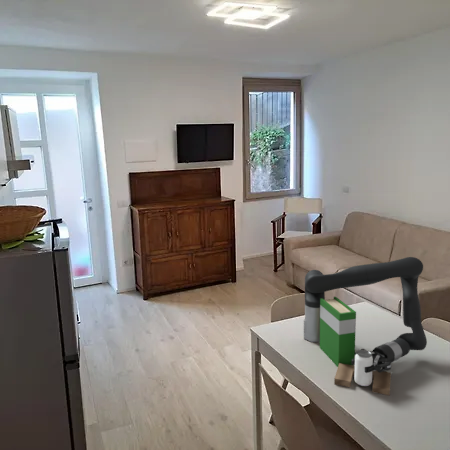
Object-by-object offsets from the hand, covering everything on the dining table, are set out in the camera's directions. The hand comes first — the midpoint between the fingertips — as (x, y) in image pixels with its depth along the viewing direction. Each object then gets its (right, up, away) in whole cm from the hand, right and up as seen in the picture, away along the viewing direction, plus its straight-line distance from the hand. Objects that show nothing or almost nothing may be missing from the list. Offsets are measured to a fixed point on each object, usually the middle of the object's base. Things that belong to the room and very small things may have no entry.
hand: (358, 366), depth 155 cm
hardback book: (-2, -4, +24) cm, 24 cm away
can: (+2, -7, +3) cm, 8 cm away
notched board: (+3, -7, +5) cm, 9 cm away
